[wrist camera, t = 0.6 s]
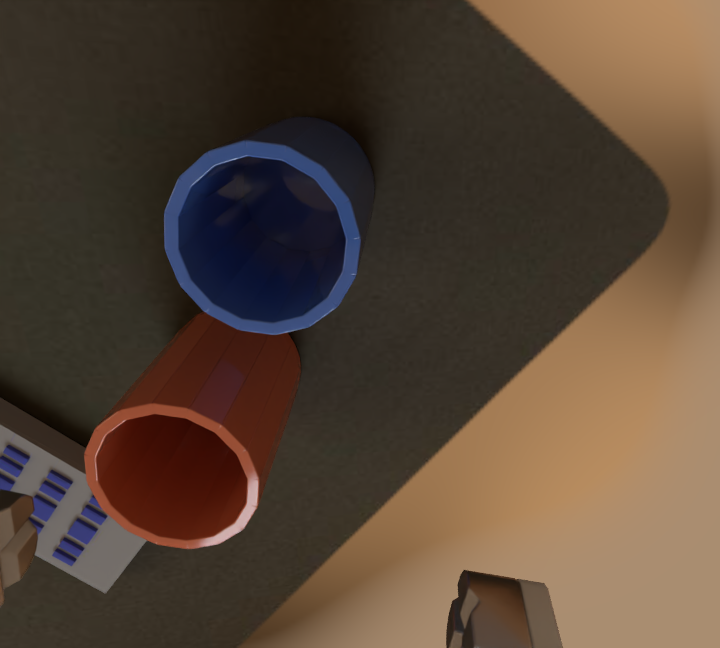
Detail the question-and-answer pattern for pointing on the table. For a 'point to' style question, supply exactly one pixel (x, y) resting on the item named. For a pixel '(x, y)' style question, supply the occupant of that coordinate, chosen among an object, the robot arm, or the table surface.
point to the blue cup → (272, 225)
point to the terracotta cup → (195, 435)
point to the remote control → (62, 500)
